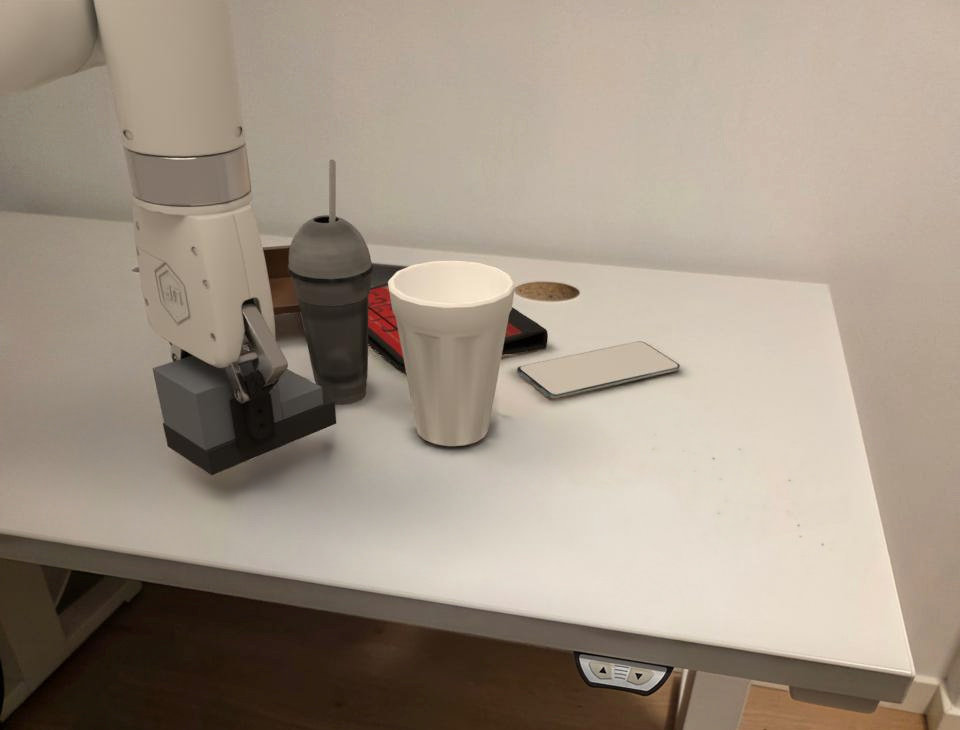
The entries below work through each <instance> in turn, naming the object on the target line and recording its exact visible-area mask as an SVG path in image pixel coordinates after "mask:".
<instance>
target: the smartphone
mask: <svg viewBox="0 0 960 730" xmlns="http://www.w3.org/2000/svg"><path fill="white" fill-rule="evenodd" d="M680 367H681V365H680V364H679V363H678V362H677V361H675V360H673V359H672V358H670V357H669V356H667V355H666V354H664V353H662V352H660V351H659V350H658V349H656V348H654V347H653V346H652V345H650V344H648V343H646V342H644V341H640V340H639V341H633V342H629V343H623V344H620V345H619V344H618V345H614V346H609V347H605V348H599V349H596V350H590V351H585V352H581V353H577V354H572V355H566V356H562V357H557V358H553V359H548V360H543V361H537V362H533V363H529V364H524V365H519V366H518V367H517V368H516V371H517V372H516V373H518V374H519V375H520V376H521V377H522V378H523V379H525V380H526V381H528V382H529V383H530V384H531V385H532V386H533V387H535V388H536V389H537V390H538V391H540V392H541V393H542V394H543V395H544V396H546V397H547V398H550V399H559V398H563V397H568V396H573V395H576V394H582V393H587V392H589V391H595V390H599V389H603V388H607V387H612V386H616V385H621V384H625V383H630V382H634V381H638V380H643V379H647V378H652V377H657V376H661V375H664V374H665V375H666V374H669V373H673V372H677V371H679V369H680Z"/></svg>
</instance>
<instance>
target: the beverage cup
mask: <svg viewBox="0 0 960 730" xmlns="http://www.w3.org/2000/svg"><path fill="white" fill-rule="evenodd" d="M336 162H337V161H336V160H335V159H329V160H328V178H329V179H328V184H329V185H328V214H326V215H318V216H315V217H312V218H310V219H309V220H307V221H306V222H304V223H303V224H302V225H300V227H299V228H298V230H297V231H296V233H295V234H294V236H293V237H292V240H291V242H290V244H289V245H290V249H289V265H288V273H289V275H291V281H292V284H293V287H294V291H295V294H296V297H298V302H299V307H300V316H301V320H302V324H303V325H302V326H303V331H304V335H305V341H306V346H307V350H308V356H309V360H310V364H311V371H312V375H313V379H314V383H315V384H317V385H319V386H321V387H322V393H323V395H324V396H326V397H327V398H329V399H331V400H333V401H335V406H336V405H337V406H343V405H344V406H345V405H351V404H355V403H358V402H360V401H362V400H363V399H364V398H366V396H367V394H368V393H367V386H368V385H367V384H368V377H369V376H368V375H369V374H368V373H369V366H368V365H369V345H368V315H369V292H370V288H372V279H373V276H372V275H373V274H372V272H373V271H374V265H373V263H372V258H371V252H370V250H369V247H368V244H367V242H366V241H365V238H364V237H363V235H362V234H361V232H360V231H359V230H358V228H357V227H356V226H355V225H354V224H352V223H351V222H349V221H347V220H346V219H344V218H342V217H339V216H337V215H336V214H337V213H336V211H337V209H336V207H337V206H336V205H337V203H336V202H337V201H336V200H337V198H336V197H337V195H336V194H337V193H336V191H337V190H336V189H337V187H336V185H337V183H336V175H337V174H336V173H337V171H336V170H337V169H336V167H337V163H336Z"/></svg>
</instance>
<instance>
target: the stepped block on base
mask: <svg viewBox="0 0 960 730" xmlns="http://www.w3.org/2000/svg"><path fill="white" fill-rule="evenodd" d="M246 351H249V349H246V348H244V347H242V348H241V352H240V353H243V352H246ZM239 367H240V369H241V372H242V375H243V378H244V381H245V380H246V378H247V377H248V376H249V374H250V373H251V372H253V371H254V368H253V365H252V362H251V361H249V362H246V363H243V364H240V365H239ZM152 374H153V378H154V383H155V388H156V392H157V396H158V401H159V406H160V411H161V415H162V420H163V422H162V427H163V432H164V435H165V441H166V445H167V448H169V449H170V450H172V451H174V452H175V453H177V454H178V455H180V456H181V457H183V458H184V459H186V460H187V461H189V462H190V463H192V464H193V465H195V466H197V467H198V468H200V469H201V470H203V471H204V472H206V473H207V474H208V475H210V476H214V475H216V474H219V473H221V472H224V471H227V470H229V469H231V468H233V467H236V466H239V465H241V464H243V463H246V462H248V461H250V460H253V459H255V458H257V457H260V456H262V455H264V454H267V453H269V452H273V451H274V450H277V449H279V448H281V447H284V446H286V445H288V444H292V443H293V442H296V441H298V440H301V439H304V438H305V437H308V436H310V435H312V434H316V433H319V432H320V431H322V430H325V429H327V428H330V427H332V426H335V425H336V424H337V411H336V405H335V401H333V400H331V399H329V398H327V397H326V396H324V395H323V393H322V387H321V386H319V385H317V384H316V383H315V382H313V381H311V380H310V379H308V378H306V377H304V376H302V375H300V374H298V373H296V372H294V371H292V370H291V369H289V368H287V370H286V371H285V372H284V373H283V374H282V375H281V377H280V378H279V381H278V382H277V384H276V385H275V391H274V392H273V393H271V399H272V407H273V415H274V423H275V431H276V436H275V438H274V439H273V440H271V441H268V442H266V443H263V444H261V445H258V446H256V447H253V448H251V449H248V450H246V451H243V450H241V449H240V448H238V447H237V444H236V437H235V431H234V425H233V418H232V412H231V406H230V400H232V399H235V396H234V393H233V390H232V387H231V384H230V382H229V379H228V376H227V373H226V370H225V368H217V367H215V366H212V365H210V364H208V363H206V362H205V361H203V360H201V359H199V358H197V357H195V356H194V355H192V356H189V357H186V358H183V359H180V360H177V361H174V362H173V361H170V362H167V363H164V364H161V365H159V366H156V367H153V368H152Z"/></svg>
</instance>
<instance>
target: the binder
mask: <svg viewBox="0 0 960 730" xmlns="http://www.w3.org/2000/svg"><path fill="white" fill-rule="evenodd" d="M548 339H549V333H548V330H547V328H545V327H543V326H542V325H540V324H539V323H538V322H536V321H535V320H533V319H531V318H530V317H528V316H526V315H525V314H523V313H522V312H520V311H519V310H517V309H516V308H515V307H513V306H512V309H511V311H510V313H509V317H508V323H507V328H506V334H505V340H504V345H503V351H502V356H507V355H514V354H520V353H521V354H522V353H528V352H536V351H539V350H544V349H546V348H547V346H548V341H549V340H548ZM368 346H370V347H371V349H373V350H374V351H375V352H377V353H378V354H379V355H380V356H381V357H383V358H385V359H386V360H387V361H388V362H389V363H391V364H392V365H393V366H395V367H396V368H398V369H399V370H401V371H404V372H406V369H405V364H404V358H403V353H402V348H401V343H400V337H399V332H398V327H397V322H396V317H395V315H394V313H393V310H392V305H391V299H390V292H389V286H388V282H387V283H384V284H380V285H375V286H371V288H370V292H369V315H368Z"/></svg>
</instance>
